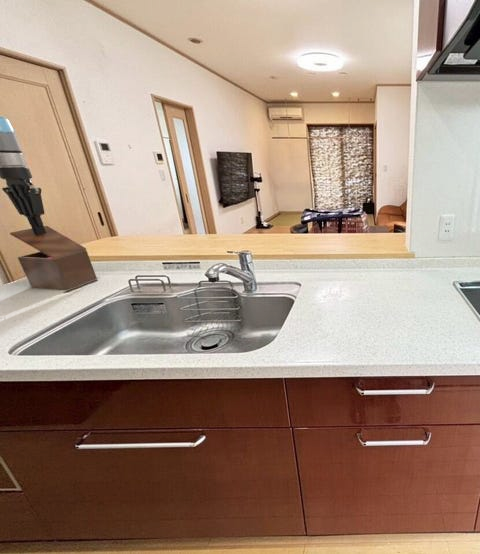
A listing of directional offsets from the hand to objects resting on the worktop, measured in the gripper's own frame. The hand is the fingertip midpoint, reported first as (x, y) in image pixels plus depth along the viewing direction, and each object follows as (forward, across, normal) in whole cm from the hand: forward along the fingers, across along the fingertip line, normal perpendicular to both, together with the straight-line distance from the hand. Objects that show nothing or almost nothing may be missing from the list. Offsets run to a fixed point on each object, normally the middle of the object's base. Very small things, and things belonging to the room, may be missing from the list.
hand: (40, 233), depth 110 cm
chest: (+21, -2, 0) cm, 21 cm away
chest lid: (+3, -2, 0) cm, 4 cm away
